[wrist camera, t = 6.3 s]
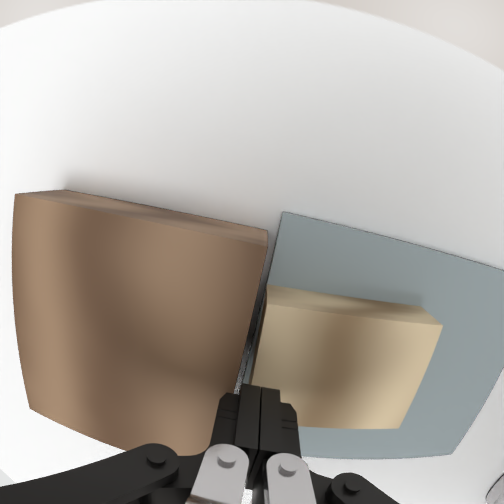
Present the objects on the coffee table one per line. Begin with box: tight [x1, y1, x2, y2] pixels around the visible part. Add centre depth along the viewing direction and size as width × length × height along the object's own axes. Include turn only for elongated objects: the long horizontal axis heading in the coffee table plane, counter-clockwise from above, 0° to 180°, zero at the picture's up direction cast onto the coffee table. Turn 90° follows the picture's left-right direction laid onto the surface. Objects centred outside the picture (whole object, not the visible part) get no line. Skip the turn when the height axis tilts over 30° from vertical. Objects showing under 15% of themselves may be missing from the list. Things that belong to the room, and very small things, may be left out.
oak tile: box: [248, 284, 443, 429], centre depth 14 cm, size 8×6×2 cm
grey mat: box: [242, 212, 504, 459], centre depth 16 cm, size 17×14×1 cm
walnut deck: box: [12, 190, 268, 456], centre depth 14 cm, size 11×12×4 cm
